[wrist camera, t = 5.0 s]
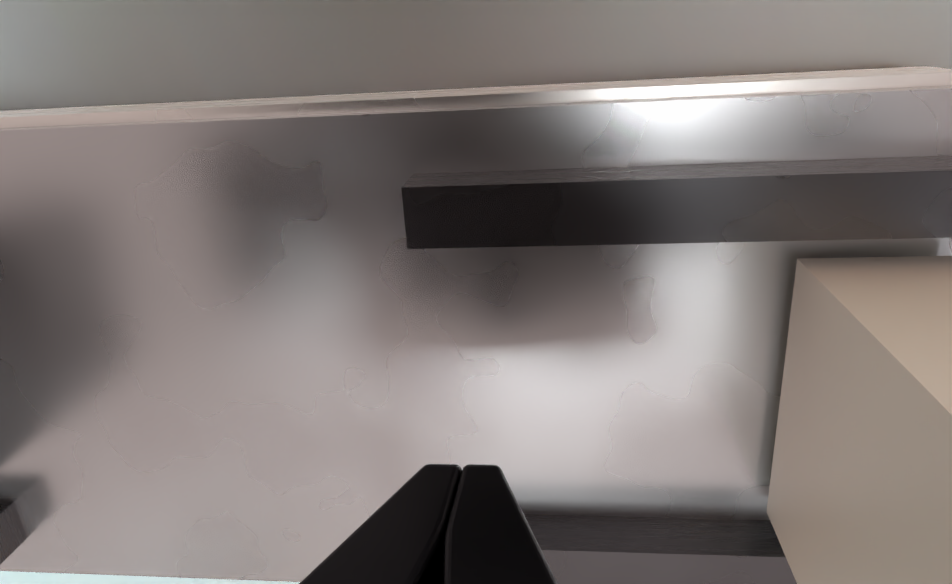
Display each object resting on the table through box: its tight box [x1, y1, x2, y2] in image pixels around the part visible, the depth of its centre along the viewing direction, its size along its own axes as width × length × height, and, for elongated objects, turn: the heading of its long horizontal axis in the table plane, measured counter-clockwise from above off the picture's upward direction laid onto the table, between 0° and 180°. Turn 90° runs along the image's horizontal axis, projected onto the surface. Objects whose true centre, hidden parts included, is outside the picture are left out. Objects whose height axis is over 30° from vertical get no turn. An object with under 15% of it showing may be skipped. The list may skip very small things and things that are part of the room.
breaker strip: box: [0, 66, 952, 584], centre depth 11 cm, size 18×8×3 cm, turn 94°
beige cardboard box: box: [766, 256, 952, 584], centre depth 7 cm, size 2×4×4 cm, turn 4°
